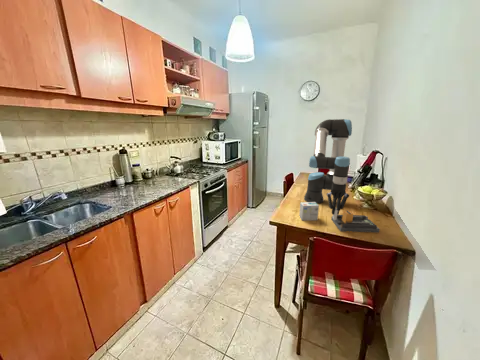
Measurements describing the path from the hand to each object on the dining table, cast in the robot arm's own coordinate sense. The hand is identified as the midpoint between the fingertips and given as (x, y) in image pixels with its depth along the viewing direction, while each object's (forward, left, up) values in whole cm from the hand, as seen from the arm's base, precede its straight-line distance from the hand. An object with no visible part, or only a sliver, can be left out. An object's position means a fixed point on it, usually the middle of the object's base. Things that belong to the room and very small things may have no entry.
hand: (334, 218), depth 126 cm
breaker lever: (0, +8, -2) cm, 8 cm away
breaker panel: (0, +12, -4) cm, 13 cm away
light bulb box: (-9, -14, -5) cm, 17 cm away
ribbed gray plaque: (0, +13, -2) cm, 13 cm away
